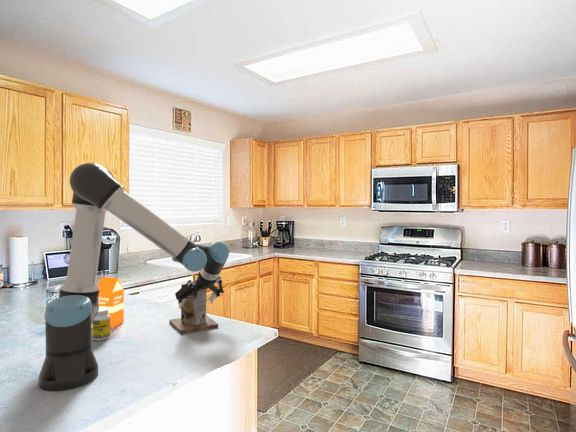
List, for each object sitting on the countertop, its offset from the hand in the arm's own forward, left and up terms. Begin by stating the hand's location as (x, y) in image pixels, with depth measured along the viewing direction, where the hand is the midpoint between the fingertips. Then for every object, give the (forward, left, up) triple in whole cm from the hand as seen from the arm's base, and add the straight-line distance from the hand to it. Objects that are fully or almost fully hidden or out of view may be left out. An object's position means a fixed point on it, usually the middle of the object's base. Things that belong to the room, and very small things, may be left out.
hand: (195, 303), depth 155 cm
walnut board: (0, +2, -10) cm, 10 cm away
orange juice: (-30, +23, -10) cm, 39 cm away
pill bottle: (-35, +6, -10) cm, 37 cm away
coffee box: (0, +2, -9) cm, 9 cm away
